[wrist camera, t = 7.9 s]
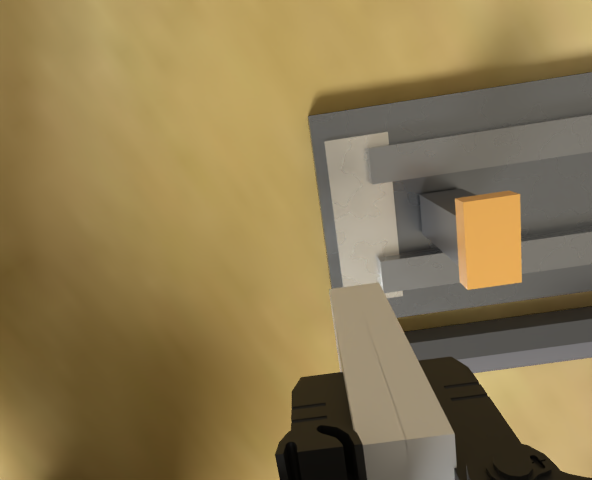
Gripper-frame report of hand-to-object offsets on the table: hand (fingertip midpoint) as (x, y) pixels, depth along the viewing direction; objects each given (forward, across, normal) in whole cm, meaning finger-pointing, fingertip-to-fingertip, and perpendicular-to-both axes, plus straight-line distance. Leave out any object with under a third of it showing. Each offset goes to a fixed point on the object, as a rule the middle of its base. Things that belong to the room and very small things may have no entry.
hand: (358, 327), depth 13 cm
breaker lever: (+13, +7, 0) cm, 15 cm away
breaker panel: (+15, +13, 0) cm, 20 cm away
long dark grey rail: (+15, +14, -9) cm, 22 cm away
